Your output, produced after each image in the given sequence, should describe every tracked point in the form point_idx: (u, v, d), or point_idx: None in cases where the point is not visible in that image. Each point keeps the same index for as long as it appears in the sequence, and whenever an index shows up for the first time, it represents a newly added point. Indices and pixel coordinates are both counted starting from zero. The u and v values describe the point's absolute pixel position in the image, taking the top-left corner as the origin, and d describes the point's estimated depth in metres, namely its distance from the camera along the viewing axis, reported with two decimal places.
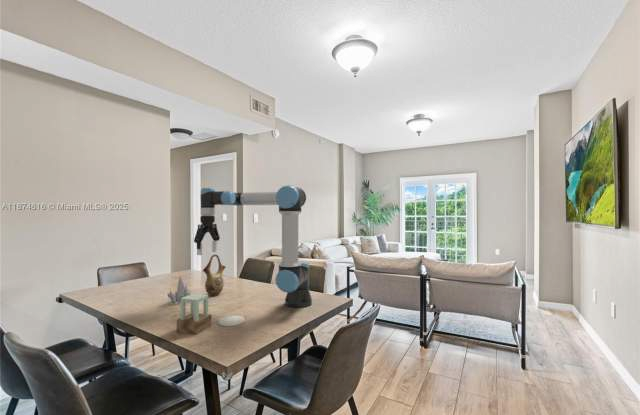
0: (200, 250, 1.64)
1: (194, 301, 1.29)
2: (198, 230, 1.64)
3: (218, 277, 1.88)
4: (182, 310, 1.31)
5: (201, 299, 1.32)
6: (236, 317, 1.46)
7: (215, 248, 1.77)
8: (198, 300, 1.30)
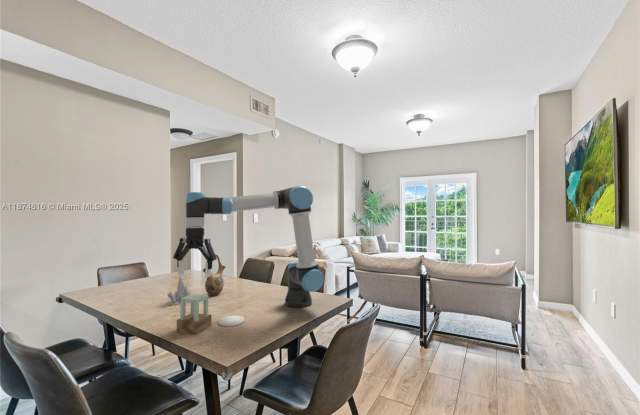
0: None
1: (194, 301, 1.29)
2: None
3: (218, 277, 1.88)
4: (182, 310, 1.31)
5: (201, 299, 1.32)
6: (236, 317, 1.46)
7: None
8: (198, 300, 1.30)
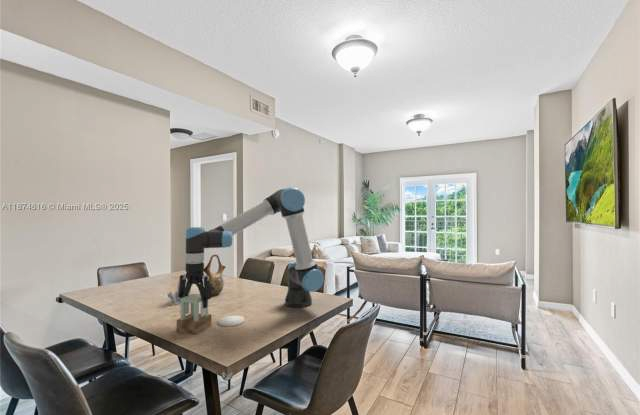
0: None
1: (194, 301, 1.29)
2: None
3: (218, 277, 1.88)
4: (182, 310, 1.31)
5: (201, 299, 1.32)
6: (236, 317, 1.46)
7: None
8: (198, 300, 1.30)
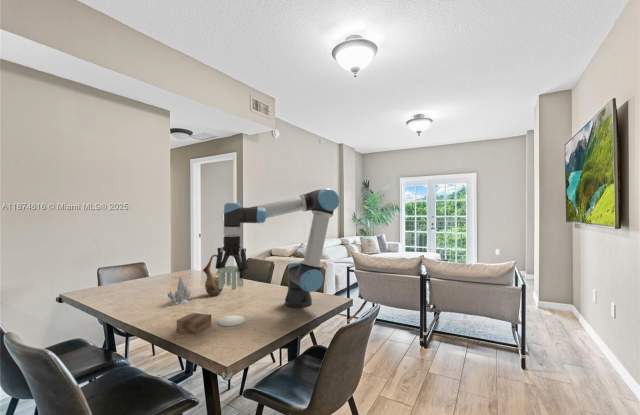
0: None
1: (232, 271, 1.38)
2: None
3: (218, 277, 1.88)
4: (220, 280, 1.40)
5: (238, 270, 1.41)
6: (236, 317, 1.46)
7: None
8: (235, 270, 1.39)
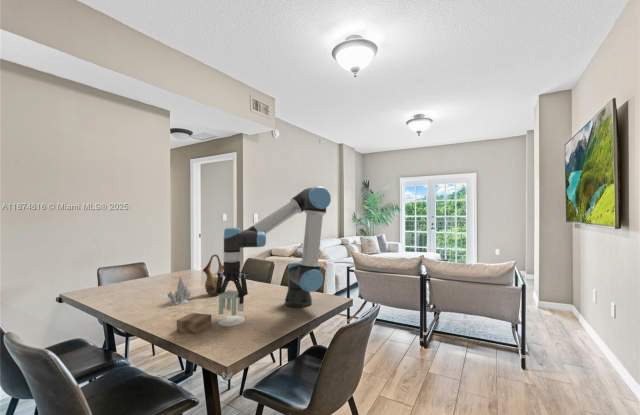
0: None
1: (232, 297, 1.38)
2: None
3: None
4: (220, 305, 1.40)
5: (238, 295, 1.41)
6: (236, 317, 1.46)
7: None
8: (236, 296, 1.39)
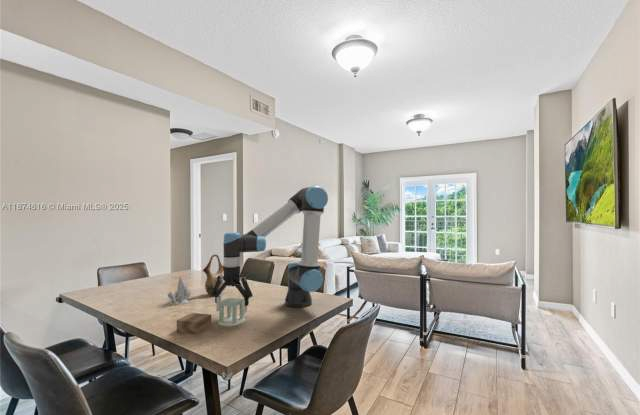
0: None
1: (232, 305, 1.38)
2: None
3: None
4: (221, 313, 1.40)
5: (238, 303, 1.41)
6: None
7: None
8: (236, 304, 1.39)
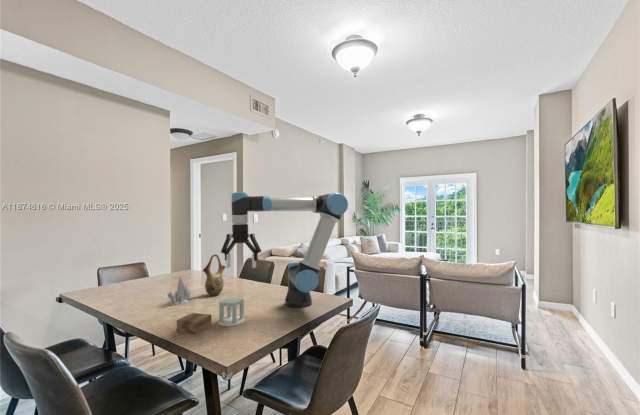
0: None
1: (232, 305, 1.38)
2: None
3: (218, 277, 1.88)
4: (221, 313, 1.40)
5: (238, 303, 1.41)
6: None
7: None
8: (236, 304, 1.39)
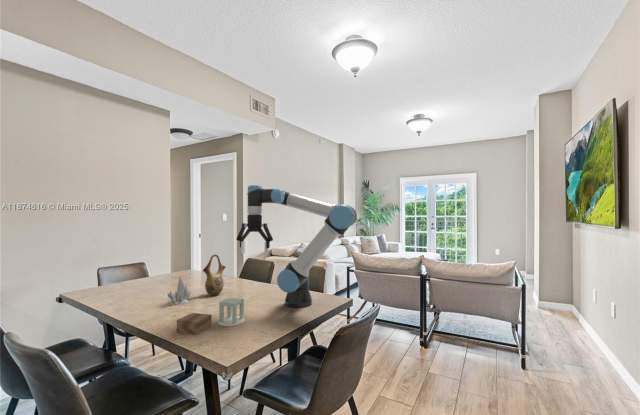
0: None
1: (232, 305, 1.38)
2: None
3: (218, 277, 1.88)
4: (221, 313, 1.40)
5: (238, 303, 1.41)
6: None
7: None
8: (236, 304, 1.39)
